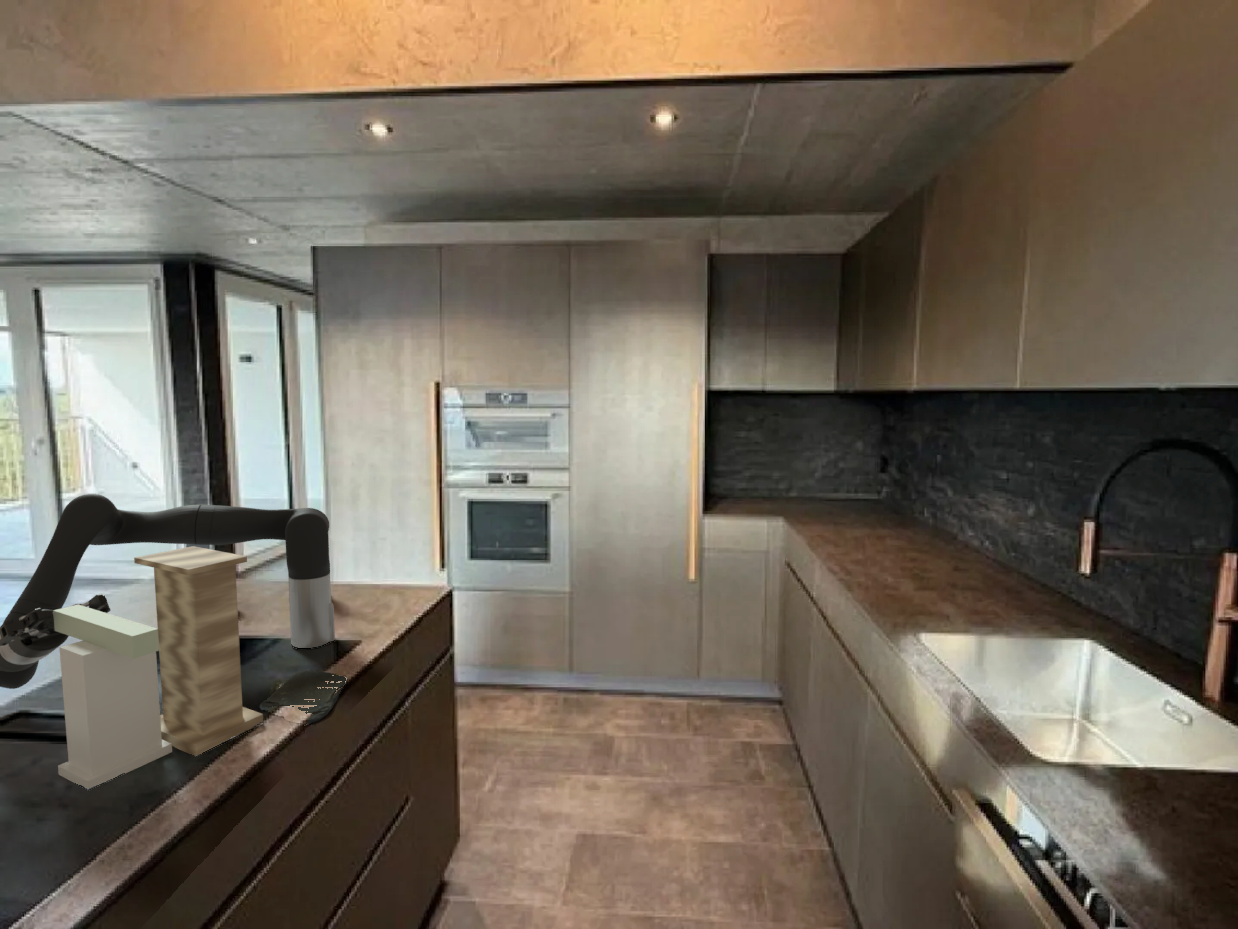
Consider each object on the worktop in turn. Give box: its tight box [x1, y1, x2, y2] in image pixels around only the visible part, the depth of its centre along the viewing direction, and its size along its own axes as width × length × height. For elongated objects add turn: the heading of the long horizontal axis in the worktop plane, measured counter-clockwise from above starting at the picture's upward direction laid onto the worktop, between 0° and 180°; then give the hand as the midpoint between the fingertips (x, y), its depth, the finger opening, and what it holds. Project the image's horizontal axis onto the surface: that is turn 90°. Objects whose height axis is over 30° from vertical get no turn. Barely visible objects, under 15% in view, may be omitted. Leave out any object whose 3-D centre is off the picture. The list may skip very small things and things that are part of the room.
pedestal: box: [57, 640, 173, 789], centre depth 103 cm, size 9×12×21 cm
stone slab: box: [259, 669, 346, 726], centre depth 127 cm, size 24×17×2 cm
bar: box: [53, 604, 159, 658], centre depth 101 cm, size 24×4×4 cm, turn 64°
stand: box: [133, 545, 264, 757], centre depth 113 cm, size 17×12×32 cm
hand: (72, 606), depth 106 cm, fingers open, 8 cm apart
